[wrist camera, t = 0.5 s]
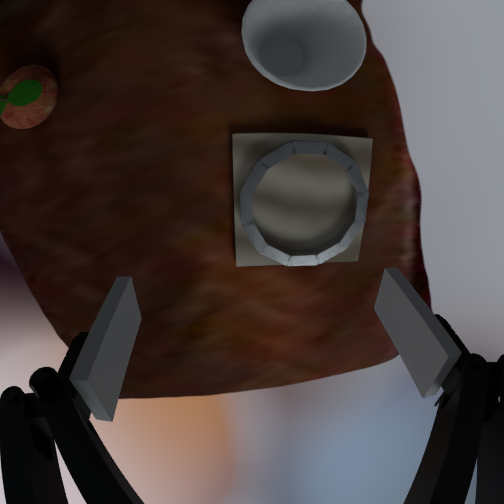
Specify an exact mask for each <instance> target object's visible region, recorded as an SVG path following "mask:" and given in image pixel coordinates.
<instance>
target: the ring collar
mask: <svg viewBox="0 0 504 504" xmlns="http://www.w3.org/2000/svg"><path fill="white" fill-rule="evenodd" d="M294 154H316V155H325V156H326V157H328V158H330V159H331V160H333V161H334V162H336V163H337V164H339V165H340V166H342V167H343V169H344V171H345V174H346V176H347V178H348V180H349V182H350V185H351V187H352V189H353V197H352V206H351V215H350V217H349V218H348V220H347V221H346V223H345V224H344V226H343V227H342V229H341V230H340V232H339V233H338V234H337V236H336V237H335V238H333V239H331V240H329V241H327V242H326V243H324V244H322V245H320V246H318V247H316V248H315V249H303V250H287V249H285V248H283V247H281V246H279V245H277V244H275V243H273V242H271V241H269V240H267V239H266V238H265V237H264V235H263V234H262V232H261V231H260V229H259V227H258V226H257V224H256V223H255V221H254V220H253V193H254V192H255V190H256V188H257V187H258V185H259V183H260V182H261V180H262V178H263V177H264V175H265V173H266V172H267V170H268V169H269V168H271V167H272V166H274V165H276V164H278V163H279V162H281V161H283V160H285V159H287V158H288V157H290V156H292V155H294ZM368 194H369V192H368V189H367V186H366V184H365V181H364V179H363V177H362V174H361V172H360V170H359V167H358V165H357V163H356V162H355V161H354V160H353V159H351V158H350V157H348V156H347V155H345V154H344V153H343V152H341V151H340V150H338V149H337V148H335V147H334V146H332V145H331V144H329V143H327V142H325V141H313V140H290V141H289V140H288V141H286V142H284V143H282V144H280V145H278V146H277V147H275V148H273V149H271V150H270V151H268V152H266V153H264V154H262V155H261V156H259V159H258V158H257V159H256V161H255V162H254V164H253V166H252V167H251V169H250V171H249V173H248V174H247V176H246V178H245V180H244V181H243V183H242V185H241V186H240V219H241V227H242V228H243V230H244V231H245V233H246V234H247V236H248V237H249V239H250V240H251V242H252V243H253V245H254V246H255V248H256V249H257V251H258V252H259V253H260V254H263V255H265V256H267V257H269V258H271V259H273V260H275V261H277V262H279V263H281V264H284V265H286V266H287V265H288V266H302V265H318V263H319V264H321V263H323V262H324V261H326V260H328V259H330V258H332V257H333V256H335V255H337V254H339V253H341V252H343V251H344V250H346V249H345V248H348V246H349V245H350V244H351V242H352V241H353V239H354V238H355V237H356V235H357V234H358V232H359V231H360V229H361V228H362V227H363V225H364V223H363V222H365V218H366V210H367V203H368Z"/></svg>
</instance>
